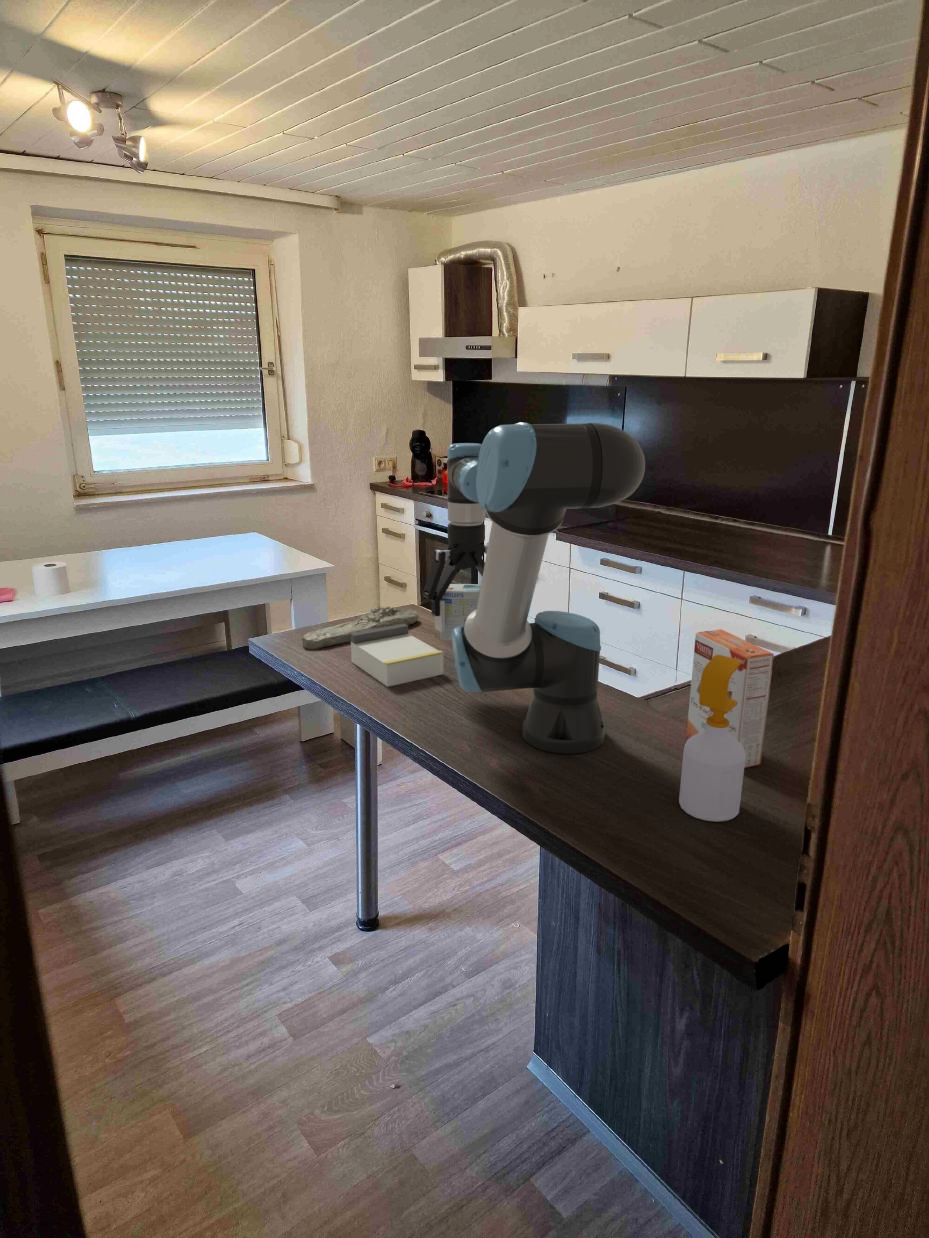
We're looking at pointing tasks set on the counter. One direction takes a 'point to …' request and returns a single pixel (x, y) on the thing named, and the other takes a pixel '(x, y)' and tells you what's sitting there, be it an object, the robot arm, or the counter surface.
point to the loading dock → (395, 655)
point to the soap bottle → (713, 752)
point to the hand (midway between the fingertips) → (466, 625)
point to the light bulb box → (458, 606)
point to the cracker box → (734, 690)
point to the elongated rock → (359, 626)
